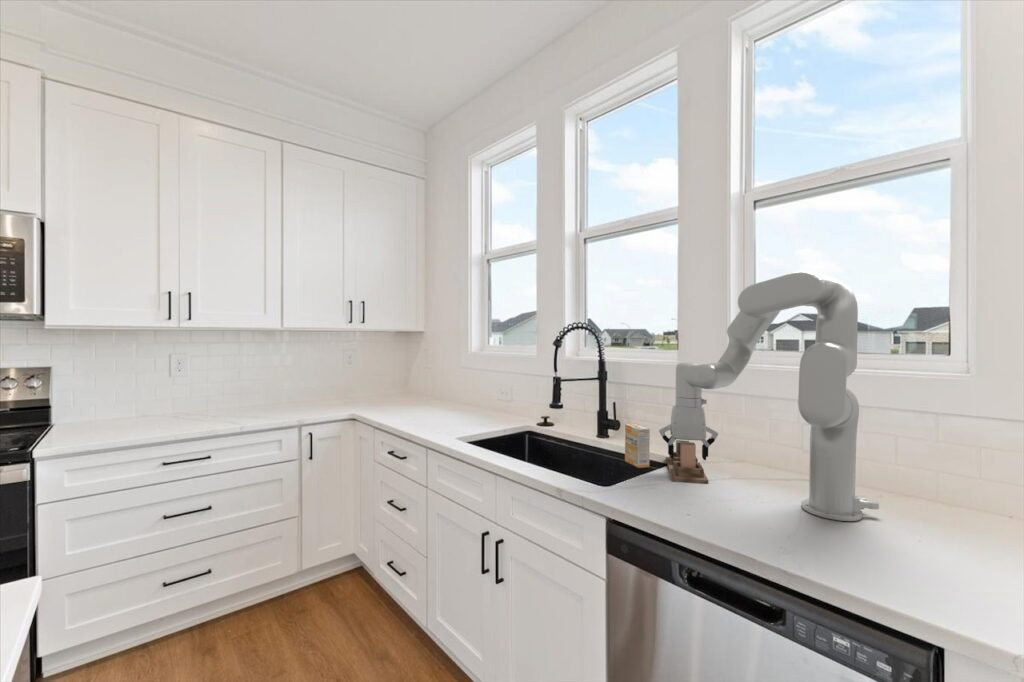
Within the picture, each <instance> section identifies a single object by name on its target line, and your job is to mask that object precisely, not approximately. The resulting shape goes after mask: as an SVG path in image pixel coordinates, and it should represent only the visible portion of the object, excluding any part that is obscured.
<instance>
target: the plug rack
mask: <svg viewBox="0 0 1024 682" xmlns="http://www.w3.org/2000/svg"><path fill="white" fill-rule="evenodd" d="M680 442H690V440H681V439H676V440H675V451H674V458H671V456H670V455H668V456H666V457H665V462H666V464H667V468H668V471H669V473H670V477H671V480H672V482H679V483H681V482H682V483H692V484H693V483H694V484H706V485H707V484H709V479H708V477H707V476H706V474H705V471H704V468H703V466H702V464H701V463H700V462H699V461H698V460H699V459H698V457H697V456H696V468H683V467H680Z"/></svg>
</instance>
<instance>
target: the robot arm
mask: <svg viewBox="0 0 1024 682" xmlns="http://www.w3.org/2000/svg"><path fill="white" fill-rule="evenodd" d="M856 298H857V297H856V295H855V294H854V292H853V291H852V289H851V288H850V287H849V286H848V285H847V284H846V283H845V282H843V281H840V280H839V279H837V278H835V277H833V276H830V275H827V274H823V273H821V272H815V271H810V270H798V271H794V272H790V273H787V274H784V275H781V276H777V277H774V278H773V277H772V278H770V279H767V280H763V281H760V282H756V283H753V284H751V285H748V286H746V287H745V288H743V290H742V291H741V292H740V294H739V296H738V299H737V307H738V308H739V309H738V310H740V311H739V312H738V313H737V314H736V316H735V317H734V319H733V320H732V321H731V323H730V325H728V327H727V329H726V334H727V337H728V344H727V347H726V349H725V351H724V352H723V354H722V355H721V357H720V358H719V359H718V360H717V362H713V363H712V362H711V363H704V364H703V363H702V364H701V363H698V362H679V363H677V364H676V366H675V405H673V406H672V408H671V412H670V413H671V416H670V424H668V425H665V426H663V427H661V428H660V429H658V432H659V433H660V435H661V438H662V440H664V442H666V443H667V445H668V447H667V454H668V456H669V455H670V456H671V458H674V452H675V451H674V450H675V449H674V448H675V446H674V442H676V440H683V441H701V442H702V446H701V457H702V460H704V461H707V458H708V457H709V447H710V446H711V445H712V444H713V443H714V442H715V441H716V440H717V438H718V436H719V432H717V431H716V430H714V429H712V428H710V427H708V426H707V424H706V421H707V420H706V415H705V408H704V406H703V405H707V403H708V402H707V399H705V398H702V389H703V390H716V389H720V388H726V387H729V386H730V385H732V384H733V383H734V382H736V381H737V378H739V377H740V375H741V373H742V372H743V371H744V369H745V368H746V367H747V365H748V364H749V362H750V359H752V355H753V353H754V350H755V347H756V345H757V343H758V342H759V341H760V339H761V338H762V337H763V335H764V333H766V331H767V330H768V328H769V327H770V326H771V324H772V323H773V322H774V321H775V319H776V318H777V317H778V315H779V314H780V312H782V311H785V310H789V309H793V308H797V307H803V306H804V307H812V308H815V309H816V310H817V317H816V321H815V338H814V339H815V342H814V343H813V344H812V345H810V346H809V347H807V348H806V349H805V351H804V352H803V353H802V356H801V357H800V362H799V371H798V396H797V398H798V399H797V400H798V401H797V405H798V410H799V415H800V416H801V418H802V419H803V420H804V421H805V422H806V423H807V424H808V425H810V431H809V434H810V435H809V475H808V476H809V477H808V478H809V480H808V481H809V482H808V483H809V484H808V486H809V487H808V498H805V499H803V500H802V501H801V507H802V509H803V510H804V511H805V512H808V513H810V514H811V515H814V516H817V517H819V518H824V519H829V520H834V521H841V522H854V521H855V522H856V521H860V520H861V519H863V517H864V512H863V510H864V509H868V510H879V509H880V505H879V502H878V501H877V500H868V499H867V498H865V497H864V498H863V497H858V496H857V495H856V481H857V479H856V478H857V477H856V472H857V470H856V467H857V464H856V463H857V440H858V439H857V438H858V437H857V433H858V426H859V425H858V424H859V418H860V417H859V416H860V405H859V404H860V403H859V401H858V398H857V396H856V395H855V393H853V392H852V390H850V389H849V388H848V387H847V378H848V377H849V376H851V375H853V373H854V372H855V370H856V368H857V365H858V324H859V323H858V320H859V319H858V315H859V309H858V308H859V307H858V302H857V299H856ZM668 431H670V435H671V436H669V437H668V436H667V435H666V432H668ZM707 433H710V434H711V436H710V437H709V438H708V439H706V438H707Z"/></svg>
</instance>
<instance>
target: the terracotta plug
mask: <svg viewBox="0 0 1024 682" xmlns="http://www.w3.org/2000/svg"><path fill="white" fill-rule="evenodd" d="M696 448H697V447H696V444H695V442H691V441H689V442H680V467H683V468H696V457H697V455H696V453H697V452H696V451H697V449H696Z"/></svg>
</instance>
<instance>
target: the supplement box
mask: <svg viewBox="0 0 1024 682" xmlns="http://www.w3.org/2000/svg"><path fill="white" fill-rule="evenodd" d="M624 433H625V434H624V436H625V437H624V438H625V439H624V461H625V463H627V464H630V465H632V466H634V467H636V468H637V469H640V468H641V469H642V468H649V467H650V444H651V443H650V440H651V439H650V437H651V436H650V435H651V434H650V433H651V429H650V427H649V428H648V427H646V426H643V425H641V424H638V423H626V424H625V428H624Z"/></svg>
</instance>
